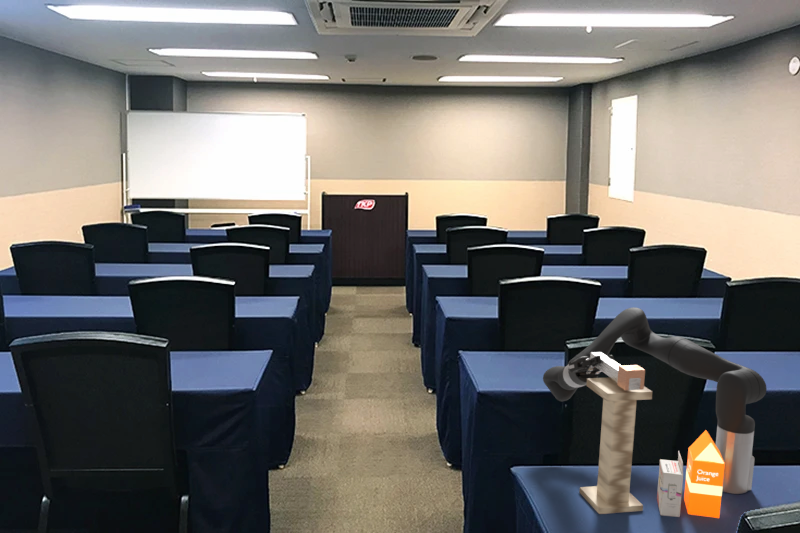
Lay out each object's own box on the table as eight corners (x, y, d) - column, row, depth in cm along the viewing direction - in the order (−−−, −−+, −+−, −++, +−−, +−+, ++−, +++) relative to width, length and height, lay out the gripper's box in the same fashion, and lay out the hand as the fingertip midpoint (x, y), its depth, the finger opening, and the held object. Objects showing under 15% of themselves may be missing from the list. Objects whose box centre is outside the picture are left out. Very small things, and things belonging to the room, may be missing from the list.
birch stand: (620, 489, 207) (629, 376, 201) (642, 510, 195) (652, 391, 190) (579, 492, 204) (586, 378, 199) (599, 514, 193) (607, 393, 187)
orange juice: (687, 514, 194) (694, 440, 190) (683, 498, 202) (689, 427, 199) (720, 518, 192) (727, 443, 189) (714, 502, 200) (721, 430, 197)
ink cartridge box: (655, 500, 201) (659, 447, 198) (675, 502, 200) (679, 449, 198) (659, 515, 193) (664, 461, 190) (680, 518, 192) (685, 463, 189)
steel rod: (603, 362, 208) (604, 344, 207) (643, 389, 187) (645, 369, 186) (586, 363, 207) (587, 345, 206) (624, 390, 186) (626, 370, 185)
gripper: (555, 360, 217) (579, 345, 201) (601, 358, 220) (628, 344, 204) (559, 386, 214) (583, 373, 198) (605, 384, 217) (633, 371, 201)
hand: (605, 359), depth 201 cm, fingers closed on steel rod, 3 cm apart
